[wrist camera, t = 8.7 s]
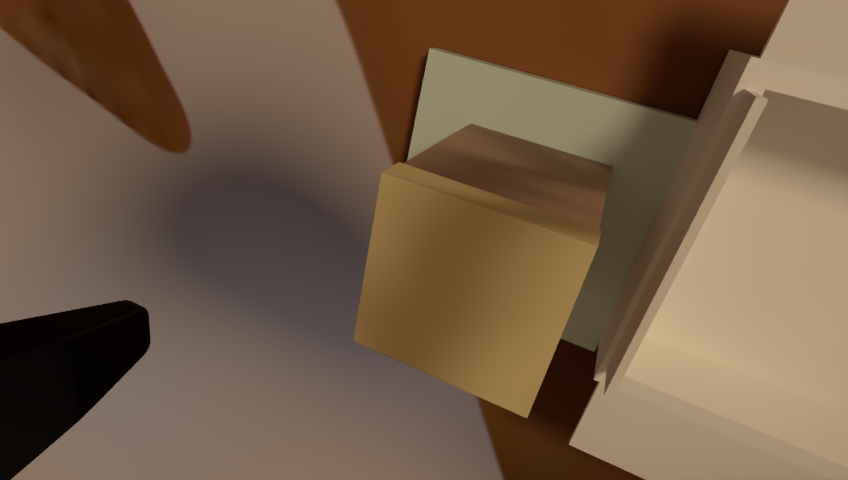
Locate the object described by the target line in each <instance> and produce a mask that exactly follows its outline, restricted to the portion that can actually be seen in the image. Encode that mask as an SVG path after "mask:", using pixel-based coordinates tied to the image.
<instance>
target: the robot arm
mask: <svg viewBox="0 0 848 480" xmlns="http://www.w3.org/2000/svg"><path fill="white" fill-rule="evenodd" d="M149 345H150V328H149V315H148V311H147V310H146V309H145V308H144V307H142V306H140V305H138V304H136V303H134V302H132V301H128V300H124V301H118V302H113V303H107V304H102V305H96V306H92V307H86V308H81V309H75V310H70V311H65V312H60V313H55V314H49V315H44V316H39V317H33V318H28V319H23V320H17V321H12V322H7V323H1V324H0V480H11V479H12V478H13V477H14V476H15V475H16V474H18V473H19V472H20V471H21V470H22V469H24V468H25V467H26V466H27V465H28V464H29V463H30V462H32V461H33V460H34V459H35V458H36V457H38V456H39V455H40V454H41V453H42V452H43V451H44V450H46V449H47V448H48V447H49V446H50V445H51V444H53V443H54V442H55V441H56V440H57V439H58V438H60V437H61V436H62V435H63V434H64V433H65V432H66V431H68V430H69V429H70V428H71V427H72V426H73V425H75V424H76V423H77V422H78V421H79V420H80V419H81V418H82V417H83V416H84V415H85V414H86V413H87V412H88V411H89V410H90V409H92V408H93V406H95V404H96V403H97V402H98V401H99V400H100V399H101V398H102V397H103V396H104V395H105V394H106V393H107V392H108V391H109V390H110V389H111V388H112V387H113V386H114V385H115V384H116V383H117V382H118V381H119V380H120V379H121V378H122V377H123V376H124V375H125V374H126V373H127V372H128V371H129V370H130V369H131V368H132V367H133V366H134V365H135V364H136V362H137V361H139V359H141V358H142V357H143V355H144V354H145V353H146V352H147V350H148V348H149Z"/></svg>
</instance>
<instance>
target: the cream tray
mask: <svg viewBox="0 0 848 480" xmlns="http://www.w3.org/2000/svg"><path fill="white" fill-rule="evenodd" d="M697 121H698V125H697V128H696V130H695V132H694V134H693V136H692V138H691V140H690V142H689V145H688V147H687V149H686V151H685V153H684V155H683V157H682V160H681V162H680V164H679V166H678V168H677V170H676V172H675V174H674V177H673V179H672V181H671V183H670V185H669V187H668V189H667V192H666V194H665V196H664V198H663V200H662V202H661V204H660V206H659V209H658V211H657V213H656V215H655V217H654V219H653V221H652V224H651V226H650V228H649V230H648V232H647V234H646V236H645V238H644V241H643V243H642V245H641V247H640V249H639V251H638V253H637V256H636V258H635V260H634V262H633V264H632V266H631V268H630V270H629V273H628V275H627V277H626V279H625V281H624V283H623V285H622V288H621V290H620V292H619V294H618V296H617V298H616V300H615V302H614V305H613V307H612V309H611V311H610V313H609V315H608V317H607V320H606V322H605V324H604V326H603V328H602V330H601V332H600V338H599V345H598V352H597V359H596V366H595V373H594V380H596V381H598V383H597V385H596V387H595V389H594V391H593V393H592V395H591V397H590V399H589V401H588V403H587V405H586V407H585V409H584V411H583V413H582V415H581V418H580V420H579V422H578V424H577V426H576V428H575V430H574V432H573V434H572V436H571V438H570V440H569V445H571V446H573V447H575V448H577V449H580V450H582V451H584V452H586V453H588V454H591V455H593V456H595V457H597V458H599V459H601V460H604V461H606V462H608V463H610V464H612V465H615V466H617V467H619V468H621V469H623V470H626V471H628V472H630V473H632V474H634V475H637V476H639V477H641V478H643V479H645V480H848V0H787V1H786V3H785V5H784V7H783V9H782V11H781V13H780V15H779V17H778V19H777V22H776V24H775V26H774V28H773V30H772V32H771V34H770V36H769V38H768V40H767V42H766V44H765V46H764V48H763V50H762V52H761V54H760V56H755V55H751V54H747V53H743V52H738V51H734V50H729V52H728V54H727V56H726V58H725V60H724V62H723V65H722V67H721V69H720V71H719V73H718V75H717V78H716V80H715V82H714V84H713V86H712V88H711V90H710V93H709V95H708V97H707V99H706V101H705V103H704V105H703V108H702V110H701V112H700V114H699V116H698V118H697Z"/></svg>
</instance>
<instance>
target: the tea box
mask: <svg viewBox="0 0 848 480" xmlns="http://www.w3.org/2000/svg"><path fill="white" fill-rule="evenodd" d="M612 168H613V166H610V165H607V164H603V163H600V162H597V161H594V160H590V159H587V158H584V157H580V156H577V155H574V154H570V153H567V152H564V151H560V150H557V149H554V148H551V147H547V146H544V145H541V144H537V143H534V142H531V141H527V140H524V139H521V138H517V137H514V136H511V135H507V134H504V133H501V132H498V131H494V130H491V129H488V128H484V127H481V126H478V125H474V124H469V125H467V126H466V127H464V128H462V129H461V130H459V131H457V132H455V133H454V134H452V135H450V136H449V137H447V138H445V139H444V140H442V141H440V142H438V143H437V144H435V145H433V146H432V147H430V148H428V149H426V150H425V151H423V152H421V153H420V154H418V155H416V156H414V157H413V158H411V159H409V160H408V161H406V162H404V163H400V162H399V163H397V164H395V165H393V166H392V167H390V168H388V169H386V170H385V171H383V172H382V173H381V179H380V184H379V190H378V196H377V202H376V208H375V214H374V220H373V226H372V232H371V238H370V244H369V249H368V256H367V261H366V267H365V273H364V279H363V285H362V291H361V297H360V303H359V308H358V314H357V320H356V326H355V332H354V338H353V341H355V342H357V343H359V344H361V345H364V346H366V347H368V348H371V349H373V350H375V351H377V352H379V353H382V354H384V355H386V356H388V357H390V358H393V359H395V360H397V361H399V362H402V363H404V364H407V365H408V366H411V367H413V368H415V369H417V370H420V371H422V372H424V373H426V374H429V375H431V376H433V377H435V378H438V379H440V380H442V381H445V382H447V383H449V384H451V385H453V386H456V387H458V388H460V389H462V390H464V391H467V392H469V393H471V394H473V395H476V396H478V397H480V398H482V399H485V400H487V401H489V402H491V403H494V404H496V405H498V406H500V407H503V408H505V409H507V410H509V411H511V412H514V413H516V414H518V415H520V416H523V417H525V418H527V417H528V415H529V413H530V410H531V408H532V405H533V403H534V401H535V398H536V396H537V393H538V391H539V388H540V386H541V384H542V381H543V379H544V376H545V374H546V372H547V369H548V367H549V364H550V362H551V359H552V357H553V355H554V352H555V350H556V347H557V345H558V342H559V340H560V338H561V335H562V333H563V330H564V328H565V326H566V323H567V321H568V318H569V316H570V313H571V311H572V309H573V306H574V304H575V301H576V299H577V297H578V294H579V292H580V289H581V287H582V284H583V282H584V280H585V277H586V275H587V272H588V270H589V267H590V265H591V263H592V260H593V258H594V255H595V253H596V251H597V248H598V245H599V240H600V235H601V230H600V229H599V227H600V222H601V218H602V213H603V209H604V204H605V200H606V195H607V191H608V186H609V182H610V177H611V173H612Z"/></svg>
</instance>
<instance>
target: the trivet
mask: <svg viewBox="0 0 848 480" xmlns="http://www.w3.org/2000/svg"><path fill="white" fill-rule="evenodd" d="M469 124H474V125H478V126H481V127H484V128H488V129H491V130H494V131H498V132H501V133H504V134H507V135H511V136H514V137H517V138H521V139H524V140H527V141H531V142H534V143H537V144H541V145H544V146H547V147H551V148H554V149H557V150H560V151H564V152H567V153H570V154H574V155H577V156H580V157H584V158H587V159H590V160H594V161H597V162H600V163H603V164H607V165H610V166H613V168H612V173H611V177H610V182H609V186H608V191H607V195H606V200H605V204H604V209H603V213H602V218H601V222H600V227H599V229H600V230H601V235H600V240H599V245H598V248H597V251H596V253H595V255H594V258H593V260H592V263H591V265H590V267H589V270H588V272H587V275H586V277H585V280H584V282H583V284H582V287H581V289H580V292H579V294H578V297H577V299H576V301H575V304H574V306H573V309H572V311H571V313H570V316H569V318H568V321H567V323H566V326H565V328H564V330H563V333H562V335H561V339H563V340H566V341H568V342H571V343H573V344H576V345H578V346H580V347H583V348H585V349H588V350H590V351H593V352H595V350H596V347H597V345H598V343H599V338H600V332H601V330H602V328H603V326H604V324H605V322H606V320H607V317H608V315H609V313H610V311H611V309H612V307H613V305H614V302H615V300H616V298H617V296H618V294H619V292H620V290H621V288H622V285H623V283H624V281H625V279H626V277H627V275H628V273H629V270H630V268H631V266H632V264H633V262H634V260H635V258H636V256H637V253H638V251H639V249H640V247H641V245H642V243H643V241H644V238H645V236H646V234H647V232H648V230H649V228H650V226H651V224H652V221H653V219H654V217H655V215H656V213H657V211H658V209H659V206H660V204H661V202H662V200H663V198H664V196H665V194H666V192H667V189H668V187H669V185H670V183H671V181H672V179H673V177H674V174H675V172H676V170H677V168H678V166H679V164H680V162H681V160H682V157H683V155H684V153H685V151H686V149H687V147H688V145H689V142H690V140H691V138H692V136H693V134H694V132H695V130H696V128H697V125H698V121H697V120H696V119H693V118H689V117H686V116H682V115H678V114H675V113H671V112H667V111H664V110H660V109H656V108H653V107H649V106H646V105H642V104H638V103H635V102H631V101H627V100H624V99H620V98H617V97H613V96H609V95H606V94H602V93H598V92H595V91H591V90H587V89H584V88H580V87H577V86H573V85H569V84H566V83H562V82H558V81H555V80H551V79H548V78H544V77H540V76H537V75H533V74H529V73H526V72H522V71H519V70H515V69H511V68H508V67H504V66H500V65H497V64H493V63H489V62H486V61H482V60H479V59H475V58H471V57H468V56H464V55H460V54H457V53H453V52H450V51H446V50H442V49H439V48H429V53H428V58H427V63H426V68H425V73H424V78H423V83H422V88H421V93H420V98H419V103H418V108H417V113H416V118H415V123H414V128H413V133H412V138H411V143H410V148H409V153H408V158H407V161H408V160H409V159H411V158H413V157H414V156H416V155H418V154H420V153H421V152H423V151H425V150H426V149H428V148H430V147H432V146H433V145H435V144H437V143H438V142H440V141H442V140H444V139H445V138H447V137H449V136H450V135H452V134H454V133H455V132H457V131H459V130H461V129H462V128H464V127H466V126H467V125H469Z"/></svg>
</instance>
